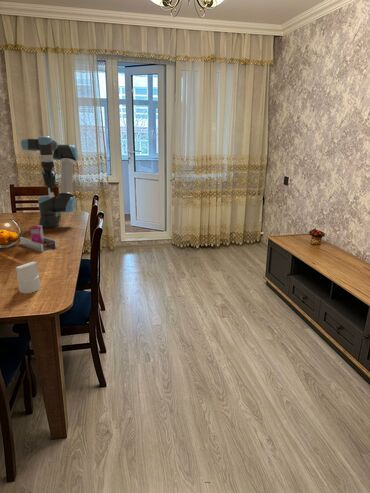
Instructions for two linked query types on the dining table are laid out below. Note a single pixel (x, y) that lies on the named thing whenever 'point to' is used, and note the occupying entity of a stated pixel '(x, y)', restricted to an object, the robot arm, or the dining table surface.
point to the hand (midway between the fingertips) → (51, 196)
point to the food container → (58, 215)
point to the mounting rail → (39, 244)
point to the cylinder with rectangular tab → (28, 277)
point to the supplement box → (37, 234)
